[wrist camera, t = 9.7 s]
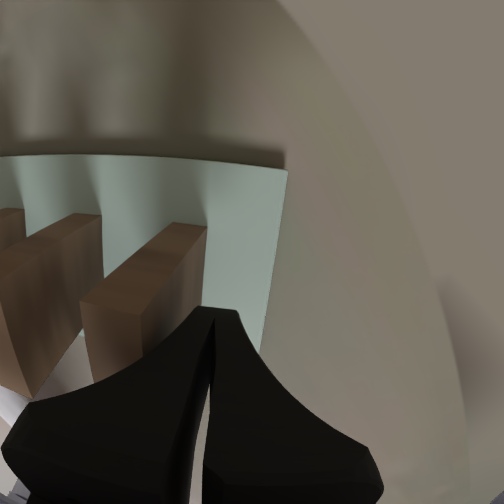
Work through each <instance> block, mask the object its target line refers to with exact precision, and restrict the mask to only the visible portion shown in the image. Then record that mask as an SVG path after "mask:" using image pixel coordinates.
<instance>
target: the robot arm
mask: <svg viewBox="0 0 504 504" xmlns="http://www.w3.org/2000/svg"><path fill="white" fill-rule="evenodd" d="M209 384H210V414H209V422H208V429H207V437H206V444H205V451H204V459H203V472H202V504H376V502H377V501H378V500H379V498H380V497H381V496H382V494H383V491H384V485H383V482H382V479H381V476H380V473H379V470H378V468H377V465H376V463H375V461H374V459H373V457H372V455H371V454H370V451H369V449H368V447H366V446H364V445H363V444H361V443H359V442H357V441H355V440H353V439H352V438H350V437H348V436H346V435H344V434H343V433H341V432H339V431H337V430H336V429H334V428H333V427H331V426H330V425H328V424H327V423H325V422H324V421H323V420H321V419H320V418H318V417H317V416H316V415H314V414H313V413H312V412H310V411H309V410H308V409H307V408H306V407H305V406H303V405H302V404H301V403H300V402H299V401H298V400H297V399H295V398H294V397H293V396H292V395H291V394H290V393H289V392H288V391H287V390H286V389H285V388H284V387H283V386H282V384H281V383H280V382H279V381H278V380H277V379H276V378H275V376H274V375H273V374H272V373H271V371H270V370H269V369H268V367H267V366H266V365H265V363H264V362H263V360H262V359H261V357H260V356H259V354H258V353H257V351H256V349H255V348H254V346H253V344H252V342H251V341H250V339H249V337H248V335H247V333H246V331H245V329H244V326H243V324H242V322H241V319H240V315H239V313H238V311H237V310H234V309H225V308H216V307H208V306H199V305H198V306H196V307H195V308H194V309H193V310H192V312H191V313H190V314H189V315H188V316H187V317H186V318H185V320H184V321H183V322H182V323H181V324H180V325H179V326H178V327H177V328H176V329H175V330H174V331H173V332H172V333H171V334H170V335H169V336H167V337H166V338H165V339H164V340H163V341H162V342H160V343H159V344H158V345H157V346H156V347H155V348H153V349H152V350H151V351H150V352H148V353H147V354H146V355H144V356H143V357H141V358H140V359H139V360H137V361H136V362H134V363H132V364H131V365H129V366H128V367H126V368H124V369H122V370H120V371H119V372H117V373H115V374H113V375H111V376H109V377H107V378H105V379H103V380H101V381H99V382H96V383H94V384H91V385H89V386H87V387H84V388H81V389H78V390H75V391H73V392H70V393H66V394H63V395H59V396H55V397H51V398H48V399H43V400H39V401H35V402H30V403H28V405H27V406H26V407H25V409H24V410H23V411H22V413H21V414H20V415H19V417H18V419H17V420H16V422H15V424H14V425H13V427H12V429H11V430H10V432H9V434H8V435H7V437H6V439H5V441H4V442H3V444H2V446H1V451H2V455H3V458H4V460H5V461H6V463H7V465H8V466H9V467H10V469H11V470H12V471H13V473H14V474H15V475H16V476H17V477H18V479H17V481H16V483H15V486H14V488H13V490H12V492H9V494H8V496H7V497H6V496H5V495H3V494H1V493H0V504H189V498H190V488H191V478H192V469H193V460H194V451H195V444H196V439H197V434H198V430H199V426H200V421H201V417H202V413H203V409H204V405H205V401H206V396H207V392H208V388H209ZM490 504H504V491H503V492H502V493H500V494H499V495H498V496H497V497H496V498H495V499H494V500H492V501H491V503H490Z"/></svg>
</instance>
